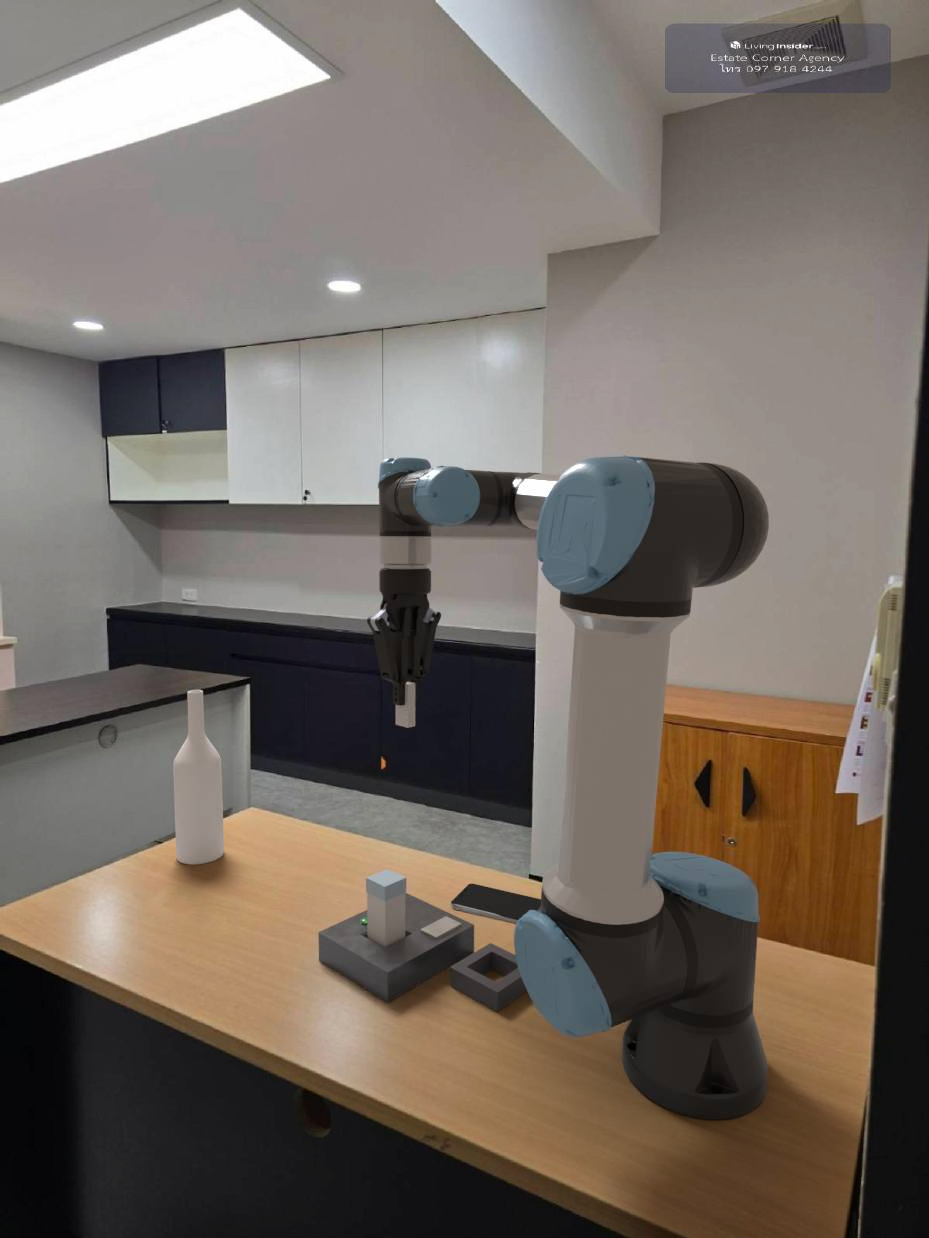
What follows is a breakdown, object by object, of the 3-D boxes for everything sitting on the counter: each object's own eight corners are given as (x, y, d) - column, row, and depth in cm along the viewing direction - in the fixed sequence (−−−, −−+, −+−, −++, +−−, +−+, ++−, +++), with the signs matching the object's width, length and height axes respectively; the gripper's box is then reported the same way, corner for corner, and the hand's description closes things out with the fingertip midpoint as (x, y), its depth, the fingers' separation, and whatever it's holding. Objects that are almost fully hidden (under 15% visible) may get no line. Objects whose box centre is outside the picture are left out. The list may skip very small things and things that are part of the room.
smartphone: (540, 925, 113) (449, 903, 119) (540, 933, 113) (448, 910, 119) (557, 902, 120) (470, 882, 126) (557, 909, 120) (470, 889, 127)
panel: (473, 951, 107) (474, 921, 106) (387, 1002, 95) (387, 969, 95) (405, 917, 116) (405, 889, 116) (318, 959, 104) (318, 929, 104)
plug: (406, 961, 104) (406, 877, 103) (385, 973, 101) (384, 886, 100) (387, 951, 107) (387, 868, 105) (366, 962, 104) (366, 877, 103)
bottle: (233, 854, 138) (228, 690, 135) (193, 869, 132) (187, 698, 129) (207, 842, 143) (202, 684, 140) (167, 856, 137) (161, 691, 134)
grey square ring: (537, 983, 99) (537, 965, 99) (497, 1011, 94) (497, 992, 93) (490, 960, 105) (490, 942, 104) (449, 985, 99) (449, 966, 99)
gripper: (419, 564, 119) (419, 713, 122) (353, 567, 109) (355, 728, 112) (454, 566, 114) (453, 722, 117) (389, 569, 104) (389, 738, 107)
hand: (405, 725), depth 114 cm, fingers closed
